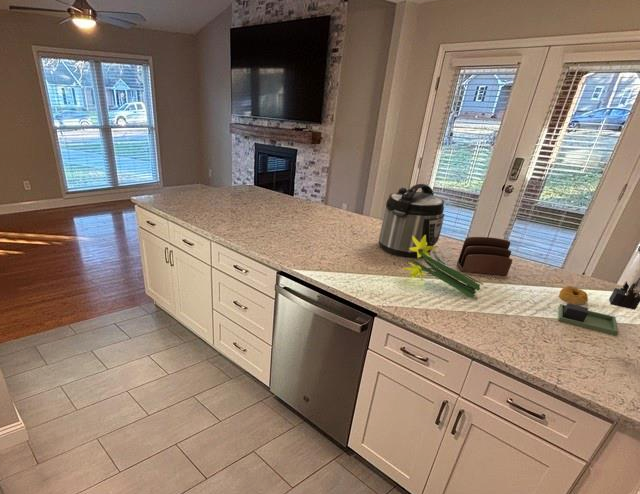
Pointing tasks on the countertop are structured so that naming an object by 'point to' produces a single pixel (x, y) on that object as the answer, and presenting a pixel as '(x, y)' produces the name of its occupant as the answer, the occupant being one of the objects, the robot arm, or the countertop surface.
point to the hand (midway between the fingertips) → (622, 303)
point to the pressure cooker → (411, 220)
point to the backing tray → (592, 321)
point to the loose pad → (618, 295)
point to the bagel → (573, 295)
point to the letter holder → (485, 256)
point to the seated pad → (575, 312)
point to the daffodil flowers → (417, 270)
